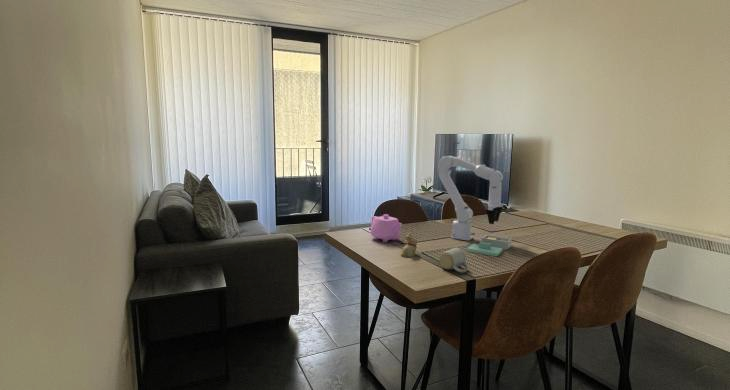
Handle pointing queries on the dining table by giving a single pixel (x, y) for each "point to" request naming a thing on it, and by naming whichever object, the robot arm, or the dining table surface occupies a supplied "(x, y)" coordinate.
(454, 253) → the ceramic mug
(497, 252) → the lid
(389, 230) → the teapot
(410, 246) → the chocolate bunny
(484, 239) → the box
